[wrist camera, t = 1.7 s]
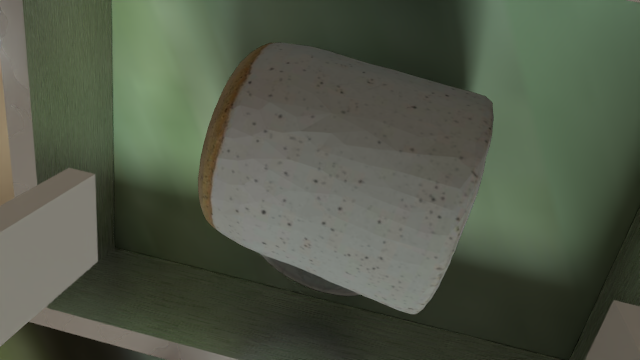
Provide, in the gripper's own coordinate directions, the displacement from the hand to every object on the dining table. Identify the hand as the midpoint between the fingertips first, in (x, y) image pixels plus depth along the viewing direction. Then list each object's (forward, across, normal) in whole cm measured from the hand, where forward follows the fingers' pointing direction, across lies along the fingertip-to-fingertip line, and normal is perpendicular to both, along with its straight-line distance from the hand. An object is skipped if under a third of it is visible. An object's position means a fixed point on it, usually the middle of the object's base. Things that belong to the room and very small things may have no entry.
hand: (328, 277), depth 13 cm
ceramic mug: (+9, -1, -1) cm, 9 cm away
